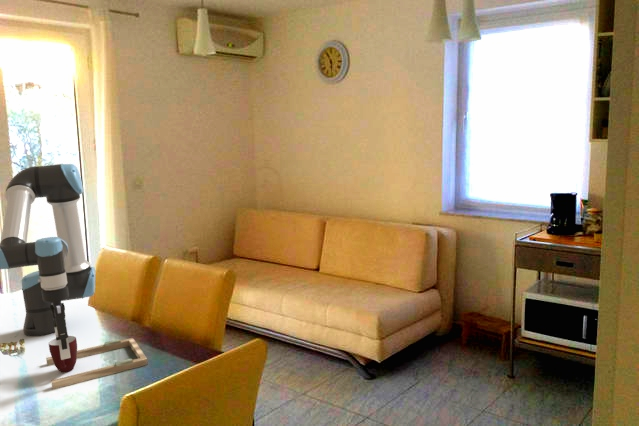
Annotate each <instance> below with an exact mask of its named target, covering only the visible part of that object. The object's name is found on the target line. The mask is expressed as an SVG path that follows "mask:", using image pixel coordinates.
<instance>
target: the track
mask: <svg viewBox="0 0 639 426" xmlns="http://www.w3.org/2000/svg"><path fill="white" fill-rule="evenodd" d="M126 347H130V349H131V350H132V352H133V353H134V355H135V357H137V358H134V359H132V358H128V359H123V360H121V361H120V360H119V361H117V362H115V363H114V364H110V365H107V366H103V367H99V368H95V369H91V370H87V371H83V372H81V373H76V374H72V375H67V376H63V377H60V378H55V379H52V380H51V388H52V390H55V389H58V388H59V389H60V388H63V387H67V386H70V385H75V384H78V383H82V382H86V381H89V380H94V379H97V378H101V377H105V376H109V375H113V374H117V373H120V372H124V371H129V370H131V369H133V370H134V369H136V368H140V367H143V366H147V365H148V364H149V363H148V358H147V356H146V355H145V354H144V351H143V350H142V349H141V348H140V346H139V344H138V343H137V342H136V340H135V339H134V337H130V338H126V339H119V338H117V339H115V340H110V341H107V342H106V341H105V342H104V344H100V345H97V346H92V347H86V348H83V349H79V350H78V349H77V359H81V358H85V357H88V356H89V357H90V356H93V355H98V354H101V353H102V354H103V353H105V352H110V351H114V350H118V349H122V348H126ZM45 360H46V365H47V366H51V365H52V366H53V365H55V364H54V362H53V359H52V356H49V357H46V358H45Z"/></svg>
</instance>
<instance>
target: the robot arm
mask: <svg viewBox="0 0 639 426" xmlns="http://www.w3.org/2000/svg"><path fill="white" fill-rule="evenodd" d="M83 193H84V187H83V183H82V178H81V175H80V172H79V170H78V167H77V166H76V165H75V164H73V163H59V164H58V163H57V164H50V165H49V164H48V165H40V166H29V167H26V168H24V169H22V170H20V171H19V172H17V173H16V174H15V175H14V176H13V177H12V178H11V180H10V181H9V182H8V184H7V186H6V189H5V193H4V194H5V195H4V197H5V201H6V206H5V208H6V209H5V215H4V219H3V224H2V231H1V236H0V270H10V269H17V268H23V267H30V266H31V267H33V266H37V269H38V270H36V271H33V272H30V273H27V274H25V275H24V276H23V277H22V278H21V290H22V296H23V302H24V308H25V318H24V323H23V328H22V329H23V334H24V335H25V336H29V337H36V336H45V335H50V334H52V333H55V339H56V340H58V342H59V349H60V356H61V360H63V359H68V358H71V356H70V349H69V342H68V336H69V334H68V329H67V322H66V313H65V312H66V311H65V310H66V306H65V304H64V301H72V300H78V299H80V300H81V299H84V298H89V297H93V295H94V294H95V292H96V291H95V290H96V267H94V266H91V262H89V261H88V260H86V255H85V248H84V243H83V236H82V230H81V223H80V217H79V216H80V215H79V209H78V204H77V203H78V201H79V200H80V199H81V195H82V194H83ZM36 198H46V202H47V204H49V205H50V206H51V207H52V212H53V217H54V219H53V220H54V224H55V230H56V236H57V237H56V236H48V237H44V238H40V239H36V240H35V241H34V242H33V241H31V242H27V241H28V233H29V224H30V217H31V208H32V204H33V203H34V202H35V199H36Z"/></svg>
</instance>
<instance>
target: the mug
mask: <svg viewBox="0 0 639 426" xmlns="http://www.w3.org/2000/svg"><path fill="white" fill-rule="evenodd" d="M68 342H69V349H70V356H71V358H68V359H63V360H61V356H60V349H59V342H58V340H56V338H54V339H52V340H50V341H49V342H48V348H49V352H50V355H51V356H50V357H52V359H53V362H54V364H53V365H54V366H55V368H56V369H57V370H58V371H59V373H63V374H64V373H69V372H71V371H73V370H74V368H75V366H76V363H77V360H78V358H77V351H78V342H77V337H76V336H73V335H68Z"/></svg>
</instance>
